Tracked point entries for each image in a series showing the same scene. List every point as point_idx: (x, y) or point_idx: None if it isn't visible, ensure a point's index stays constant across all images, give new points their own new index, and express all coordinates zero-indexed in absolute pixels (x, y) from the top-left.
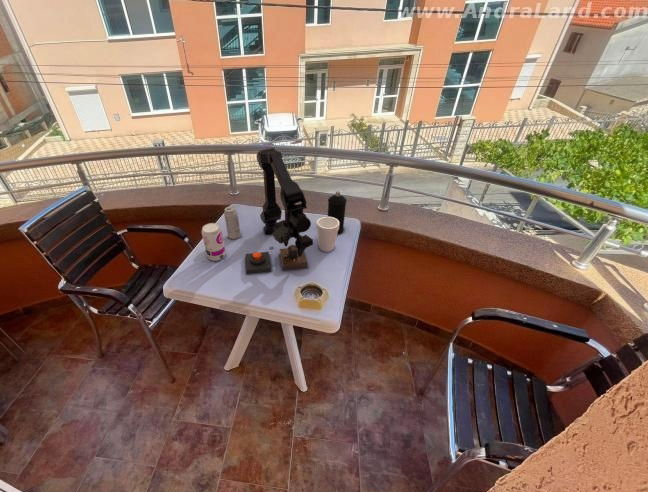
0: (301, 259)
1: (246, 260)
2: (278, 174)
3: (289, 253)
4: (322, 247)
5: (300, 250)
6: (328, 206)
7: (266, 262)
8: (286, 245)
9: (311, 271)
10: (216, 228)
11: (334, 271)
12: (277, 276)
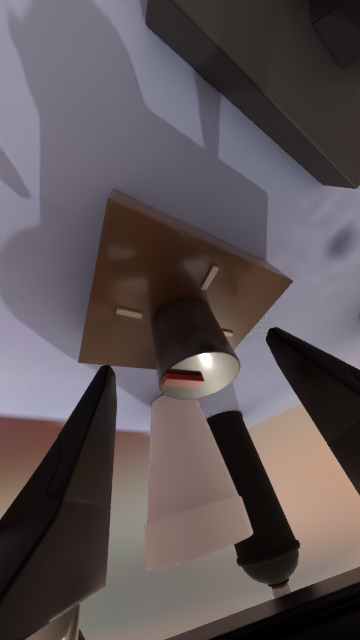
0: (118, 348)
1: None
2: None
3: (184, 323)
4: (166, 409)
5: (39, 479)
6: (276, 516)
7: (282, 10)
8: (270, 338)
9: (48, 338)
10: None
11: (28, 399)
12: (29, 50)
